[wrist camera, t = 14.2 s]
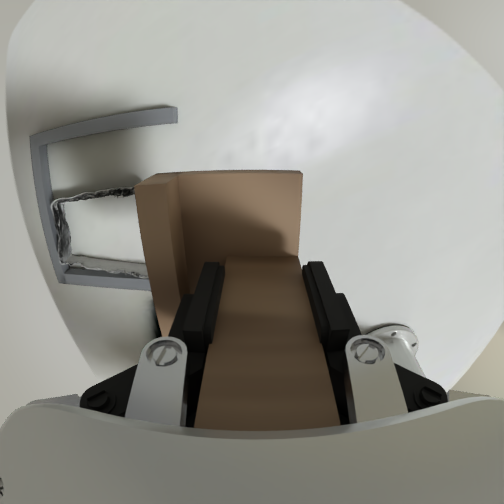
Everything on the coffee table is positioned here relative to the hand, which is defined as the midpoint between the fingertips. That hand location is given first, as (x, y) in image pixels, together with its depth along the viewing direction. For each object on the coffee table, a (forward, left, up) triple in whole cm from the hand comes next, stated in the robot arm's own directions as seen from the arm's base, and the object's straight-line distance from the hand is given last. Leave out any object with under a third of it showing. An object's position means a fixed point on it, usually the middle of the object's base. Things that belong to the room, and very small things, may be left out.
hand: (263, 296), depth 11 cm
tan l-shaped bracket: (-1, +2, -2) cm, 3 cm away
